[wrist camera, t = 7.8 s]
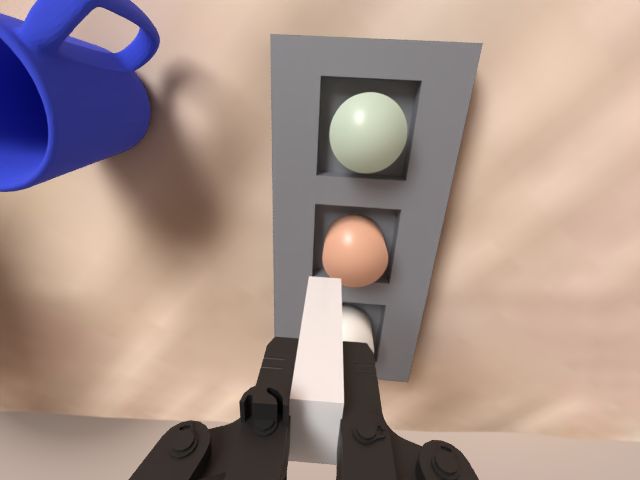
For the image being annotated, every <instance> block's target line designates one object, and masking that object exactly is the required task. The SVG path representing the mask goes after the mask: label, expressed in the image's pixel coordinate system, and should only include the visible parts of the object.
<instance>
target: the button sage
mask: <svg viewBox="0 0 640 480" xmlns="http://www.w3.org/2000/svg"><path fill="white" fill-rule="evenodd" d="M329 138H330V144H331V148H332V150H333V153H334V155H335V156H336V158H337V159H338V160H339V162H340V163H341V164H342V165H344V166H345V167H346V168H348V169H350V170H352V171H355V172H358V173H374V172H378V171H381V170H383V169H385V168H387V167H388V166H390V165H391V164H392V163H393V162H394V161H396V159H397V158H398V157H399V156H400V154H401V152H402V151H403V149H404V146H405V143H406V139H407V122H406V118H405V115H404V113H403V111H402V109H401V108H400V106H399V105H398V104H397V103H396V102H395V101H394V100H392V99H391V98H389V97H388V96H386V95H383V94H380V93H375V92H366V93H361V94H358V95H355V96H353V97H350V98H349V99H347V100H346V101H345V102H344V103H343V104H342V105H341V106H340V107H339V108H338V110H337V111H336V113H335V115H334V117H333V119H332V122H331V126H330V132H329Z"/></svg>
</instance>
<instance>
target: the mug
mask: <svg viewBox="0 0 640 480" xmlns="http://www.w3.org/2000/svg"><path fill="white" fill-rule="evenodd" d="M96 7H102V8H105V9H107V10H109V11H112V12H114V13H116V14H118V15H120V16H122V17H124V18H126V19H128V20H130V21H131V22H133V23H135V24H136V25H138V26H139V27H140V30H139V33H138V35H137V36H136V38H135V39H134V40H133V42H132V43H131V44H130V45H128V46H127V47H126V48H125V49H124V50H122V51H120V52H118V53H112V52H110V51H108V50H106V49H104V48H102V47H99V46H96V45H94V44H91V43H88V42H85V41H82V40H79V39H76V38H73V37H70V36H69V34H70V33H71V32H72V31H73V30H74V28H75V27H76V26H77V25H78V24H79V23H80V22H81V21H82V20H83V19H84V18H85V17H86V16H87V15H88V14H89V13H90V12H91V11H92V10H93V9H94V8H96ZM159 43H160V37H159V34H158V32H157V29H156V28H155V26H154V25H153V23H152V22H151V21H150V19H149V18H148V17H147V16H146V15H145V14H144V13H143V11H142V10H141V9H140V8H138V7H137V6H136V5H135V4H134V3H133V2H131V1H130V0H37V2H36V3H35V4H34V5H33V7H32V8H31V10H30V11H29V13H28V15H27V17H26V19H25V21H22V20H19V19H16V18H13V17H10V16H7V15H4V14H1V13H0V192H10V191H18V190H23V189H26V188H29V187H32V186H34V185H37V184H39V183H42V182H45V181H47V180H50V179H53V178H55V177H58V176H61V175H63V174H66V173H68V172H71V171H74V170H76V169H79V168H82V167H84V166H87V165H90V164H92V163H95V162H98V161H100V160H103V159H105V158H108V157H111V156H113V155H116V154H119V153H121V152H124V151H126V150H128V149H130V148H132V147H133V146H134V145H136V144H137V143H138V142H139V141H140V140H141V139H142V138H143V136H144V135H145V133H146V131H147V129H148V126H149V122H150V114H151V113H150V102H149V98H148V95H147V92H146V89H145V87H144V86H143V84H142V82H141V80H140V79H139V77H138V76H137V74H136V73H135V72H134V71H135V70H137V69H139V68H140V67H142V66H143V65H144V64H145V63H147V62H148V61H149V60H150V59H151V58H152V57H153V56H154V54H155V53H156V51H157V49H158V47H159Z"/></svg>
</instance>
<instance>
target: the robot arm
mask: <svg viewBox="0 0 640 480" xmlns="http://www.w3.org/2000/svg"><path fill="white" fill-rule="evenodd" d="M240 417H241V418H239V419H238V420H236V421H235V422H233V423H230V424H228V425H225V426H220V427H216V428H212V429H208V428H207V427H206V426H205V425H204V424H202V423H201V422H199V421H191V420H190V421H186V422H181V423H179V424H177V425H175V426H174V427H172V428H170V429H169V430H168V431H167V432H166V433H165V434H164V435H163V436H162V437H161V439H160V440H159V441H158V443H157V444H156V445H155V446H154V448H153V449H152V450H151V452H150V453H149V454H148V456H147V457H146V458H145V459H144V461H143V462H142V463H141V464H140V466H139V467H138V469H137V470H136V471H135V472H134V473H133V475H132V476H131V477H130V479H129V480H287V465H288V461H298V462H310V463H321V464H333V465H336V464H337V476H336V480H479V479H478V477H477V475H476V474H475V472H474V470H473V469H472V467H471V465H470V463H469V462H468V460H467V459H466V458H465V456H464V455H463V454H462V453H461V451H459V450H458V449H457V448H455V447H454V446H453V445H451V444H449V443H446V442H444V441H439V440H431V441H429V442H427V443H425V444H424V445H423V446H420V445H417V444H415V443H412V442H410V441H408V440H405V439H403V438H401V437H400V436H398V435H397V434H395V433H394V432H393V431H392V430H391V429H390V428H389V426H388V425H387V424H386V422H385V420H384V417H383V414H382V408H381V401H380V394H379V387H378V380H377V373H376V367H375V359H374V353H373V351H372V350H371V348H370V347H369V345H368V344H367V343H362V342H350V341H343V335H342V291H341V279H339V278H326V277H312V276H309V279H308V286H307V292H306V298H305V305H304V311H303V317H302V324H301V330H300V336H299V338H287V337H274V338H273V340H272V341H271V342H270V343H269V344H268V345H267V348H266V351H265V355H264V359H263V362H262V366H261V369H260V373H259V376H258V380H257V383H256V386H254V387H251V388H250V389H249V390H248V391H246V392H245V393H244V394H243V396H242V398H241V400H240Z"/></svg>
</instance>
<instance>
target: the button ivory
mask: <svg viewBox="0 0 640 480" xmlns="http://www.w3.org/2000/svg"><path fill="white" fill-rule="evenodd" d="M342 335H343V341H350V342H362V343H367V344H368V345H369V347H370V348H371V350H372V351H373V353H374V345H373V336H372V328H371V321H370V318H369V317H368V315H367V314H366V313H365V312H364V311H363V310H362V309H360V308H358V307H356V306H353V305H342Z"/></svg>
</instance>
